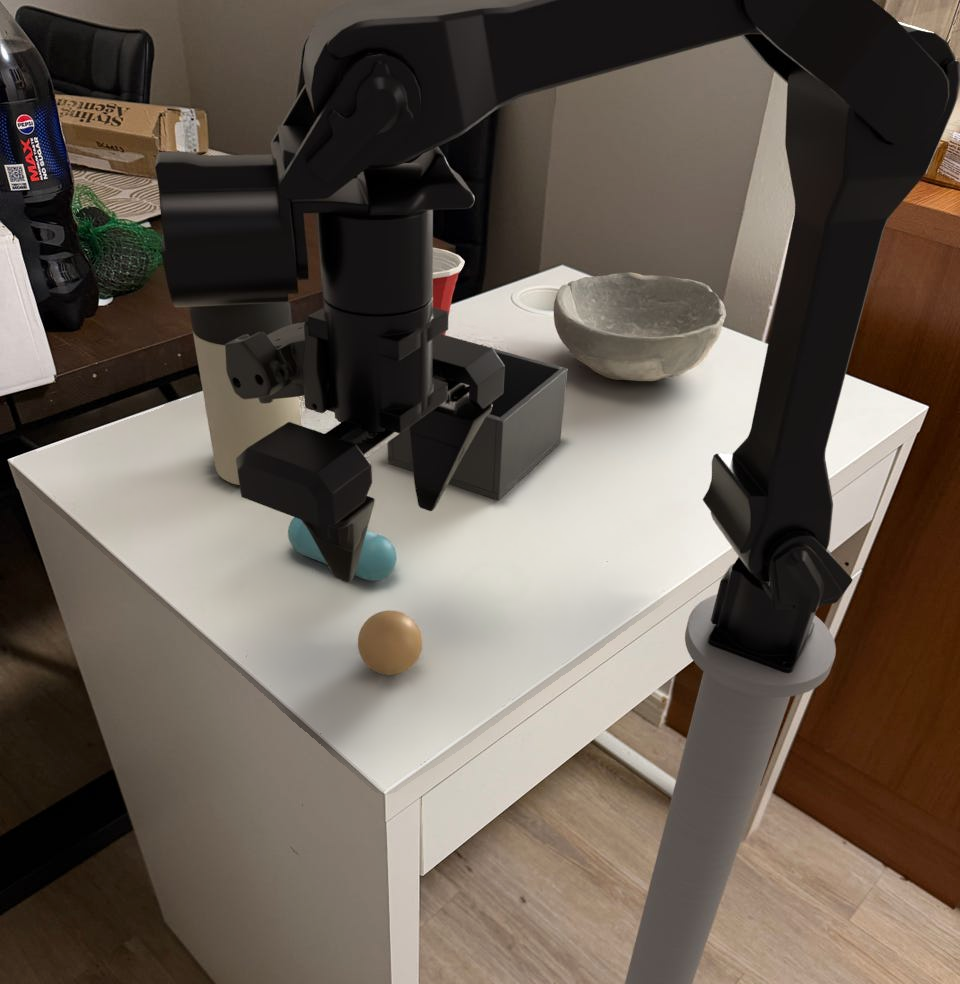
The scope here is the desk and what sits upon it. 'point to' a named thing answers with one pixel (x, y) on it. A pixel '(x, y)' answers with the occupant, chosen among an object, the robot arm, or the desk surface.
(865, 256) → the robot arm
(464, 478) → the wastebin
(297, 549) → the teal capsule pill
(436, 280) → the plastic cup
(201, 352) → the travel mug
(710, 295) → the bowl
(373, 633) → the orange ball
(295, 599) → the desk surface
